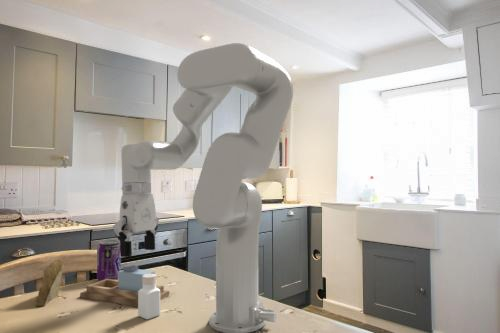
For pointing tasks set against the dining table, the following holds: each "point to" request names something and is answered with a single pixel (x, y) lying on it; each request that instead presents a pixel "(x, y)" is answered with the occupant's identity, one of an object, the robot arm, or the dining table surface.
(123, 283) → the light blue block
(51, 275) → the rock
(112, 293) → the frame
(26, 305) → the dining table surface
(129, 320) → the dining table surface
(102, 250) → the beverage can
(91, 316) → the dining table surface
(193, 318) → the dining table surface
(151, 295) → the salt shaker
